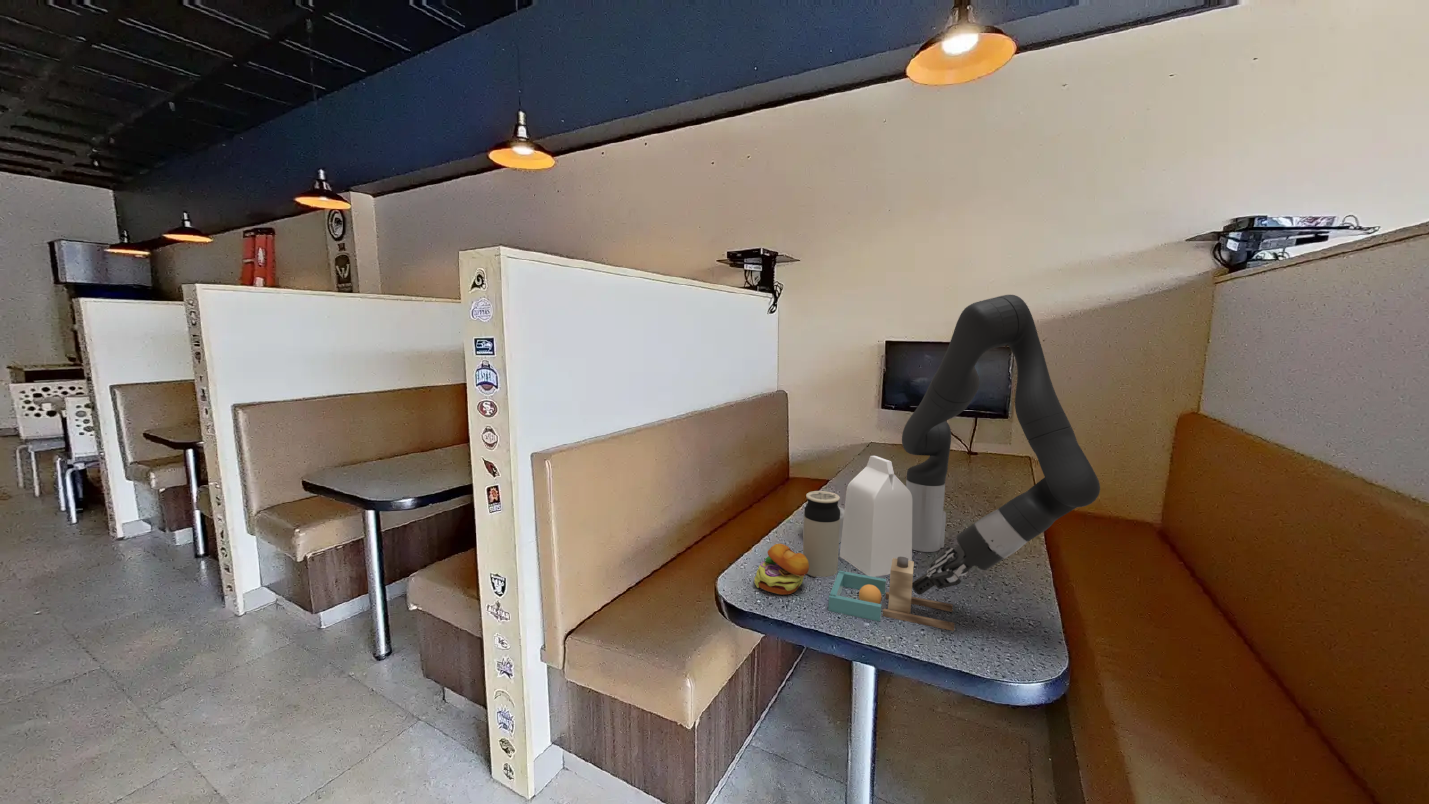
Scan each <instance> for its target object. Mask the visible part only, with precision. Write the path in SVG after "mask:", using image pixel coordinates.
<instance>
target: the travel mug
mask: <svg viewBox="0 0 1429 804" xmlns="http://www.w3.org/2000/svg"><path fill="white" fill-rule="evenodd" d="M805 496H806V500H807V503H806V505H805V507H804V510H805V511H804V510H803V515H804V537H803V536H802V539H803V540H802V541H803V542H802V554H803V555H805V557H806V558H807V560H808V563H809V570H808V573H807V574H806V575H809V576H810V577H813V578H817V577H820V578H824V577H825V578H827V577H833V576H835V574H838V572H839V570H838V567H839V551H840V547H839V546H840V544H839V529H840V509H839V507H840V506H839V501H840V500H841V497H840V496H839V494H837V493H835V492H831V491H826V490H825V491H824V490H823V491H822V490H814V491H809V492H808V493H806V495H805ZM838 506H839V507H838Z"/></svg>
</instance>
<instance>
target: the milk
mask: <svg viewBox="0 0 1429 804" xmlns="http://www.w3.org/2000/svg"><path fill="white" fill-rule="evenodd" d="M892 463H893V462H892V461H891V460H888V459H885V458H883V457H880V456H877V455H870V456H869V458H868V461H867V464H866V466H865V467H863V469H862V470H861V471H860V472H859V473H858V474H856V475H855V476H854V478H853V479H851V481H850V482H849V483H848V485H847V486H846V493H845V502H844V509H845V510H844V519H843V529H842V538H841V543H840V547H839V558H841V559H843V560H845V561H846V562H848V564H849V565H851V566H853V567H854V568H856V569H857V570H859V571H860V572H861V573H863V575H866V576H872V577H877V578H878V577H881V576H882V577H883V576H887V575H888V576H889V575H890V572H891V565H892V559H893V558H898V557H906V558H908V560H909V561H913V549H912V495H911V492H910V491H909V490H908V488H907V487H906V484H904V483H903V482H902V481H901V480H900V479H899V478H898V477H897V475H896V474H895V473H894V468H893V464H892Z"/></svg>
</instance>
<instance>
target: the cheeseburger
mask: <svg viewBox="0 0 1429 804" xmlns="http://www.w3.org/2000/svg"><path fill="white" fill-rule="evenodd" d="M767 555H768V556H767V557H765V559H764V561H761V562H760V565H759V566H758V569H757V570H756V575H755V576H754V584H755V586H756V588H757V589H759V588H760V589H761V590H764V591H766V592H768V593H769V592H770V593H773V594H777V595H791V594H793V593H795V592H796V591H797V590H798V589H799V587H801V585H802V584H803V581H804V577H805V575H808V574H807V573H808V570H809V563H808V560H807V558H806V557H805V555H803V552H797V553H796V552H794V550H792V549H791V548H790V547H789V546H788V545H786V544H783V543H776V544H774V545H772V546H771V547H770V548H769V549H768V550H767Z"/></svg>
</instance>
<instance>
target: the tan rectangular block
mask: <svg viewBox="0 0 1429 804" xmlns="http://www.w3.org/2000/svg"><path fill="white" fill-rule="evenodd" d="M914 565H915V562H914V560H912V561H909V560H908V558H906V557H898V558H893V559H892V565H891V572H890V574H889V575H890V576H889V588H888V589H889V591H888V592H889V599H888V604H887V605H888V606H887V607H888V608H887V609H888V610H893V611H898V612H903V613H908V614H911V609H912V604H911V597H913V592H912V591H913V588H912V583H913V582H914V579H913V578H914V567H915V566H914Z"/></svg>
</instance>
